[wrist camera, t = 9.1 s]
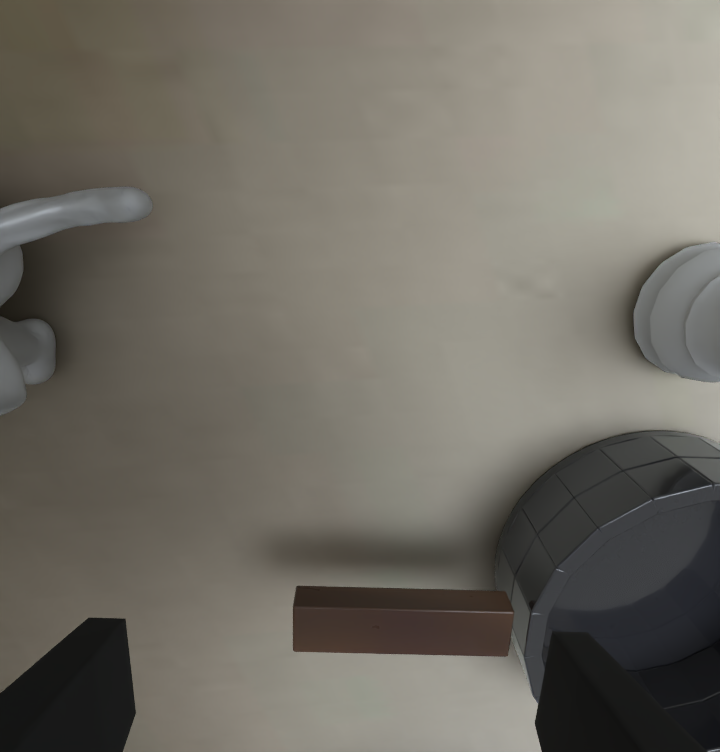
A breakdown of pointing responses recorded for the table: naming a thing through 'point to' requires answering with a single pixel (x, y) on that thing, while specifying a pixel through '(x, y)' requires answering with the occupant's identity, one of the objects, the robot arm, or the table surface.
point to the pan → (625, 567)
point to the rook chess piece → (683, 314)
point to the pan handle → (401, 621)
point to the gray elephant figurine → (5, 268)
